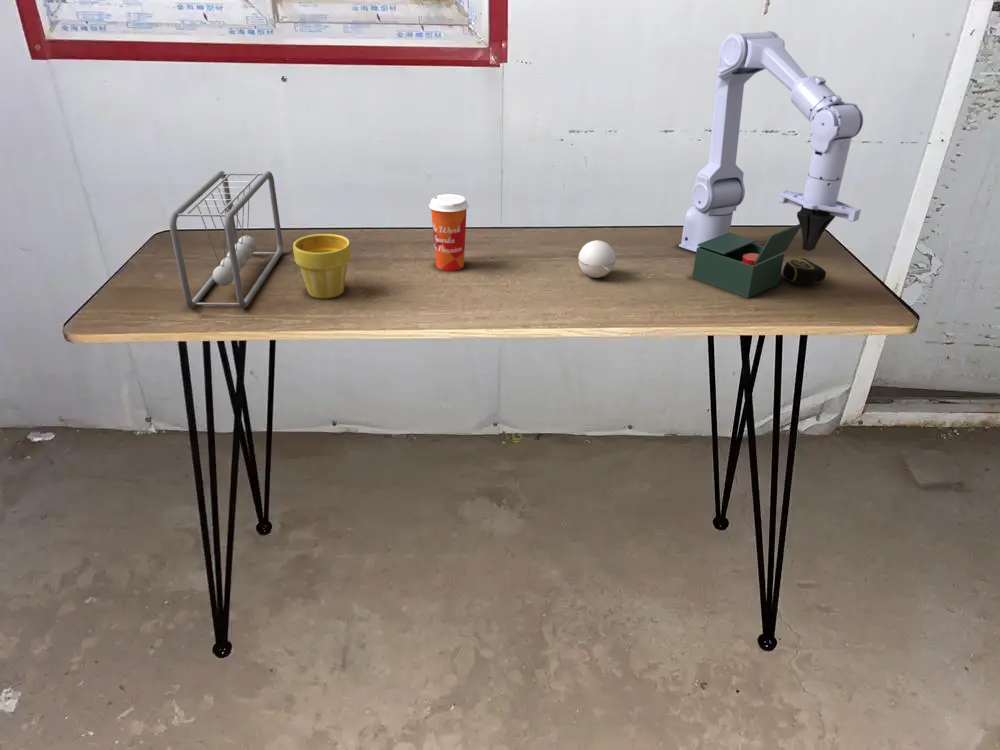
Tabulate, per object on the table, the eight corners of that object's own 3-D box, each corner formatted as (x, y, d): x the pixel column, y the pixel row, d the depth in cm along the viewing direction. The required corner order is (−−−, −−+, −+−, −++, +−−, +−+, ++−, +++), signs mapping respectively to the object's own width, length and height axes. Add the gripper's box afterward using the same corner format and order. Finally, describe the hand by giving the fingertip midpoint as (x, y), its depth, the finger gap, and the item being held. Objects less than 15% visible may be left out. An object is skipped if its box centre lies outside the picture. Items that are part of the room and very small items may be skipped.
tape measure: (825, 286, 152) (829, 268, 150) (795, 289, 150) (799, 272, 148) (803, 273, 158) (807, 255, 156) (774, 276, 156) (778, 259, 154)
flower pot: (363, 285, 150) (359, 236, 145) (337, 306, 141) (332, 255, 136) (317, 277, 153) (311, 230, 148) (288, 298, 144) (281, 248, 139)
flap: (784, 249, 149) (786, 250, 149) (753, 262, 143) (755, 263, 143) (801, 223, 145) (802, 224, 145) (770, 235, 139) (771, 236, 139)
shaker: (751, 289, 149) (757, 262, 146) (733, 283, 152) (738, 256, 149) (763, 284, 151) (768, 257, 149) (745, 277, 154) (750, 251, 151)
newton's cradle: (244, 312, 139) (228, 216, 130) (186, 312, 138) (166, 216, 130) (284, 251, 165) (273, 168, 156) (235, 251, 164) (220, 167, 156)
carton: (778, 283, 153) (785, 249, 149) (747, 298, 147) (754, 262, 143) (723, 264, 161) (728, 232, 157) (692, 278, 155) (697, 244, 151)
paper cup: (424, 269, 157) (422, 202, 150) (441, 256, 163) (439, 191, 156) (459, 275, 154) (458, 207, 147) (475, 262, 161) (475, 196, 154)
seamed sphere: (573, 269, 158) (576, 235, 154) (609, 269, 158) (612, 234, 155) (582, 289, 149) (584, 253, 146) (620, 288, 150) (623, 252, 146)
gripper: (776, 171, 139) (762, 243, 145) (853, 189, 129) (835, 265, 136) (796, 164, 143) (782, 235, 150) (873, 181, 133) (854, 256, 140)
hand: (808, 249), depth 143 cm, fingers closed
